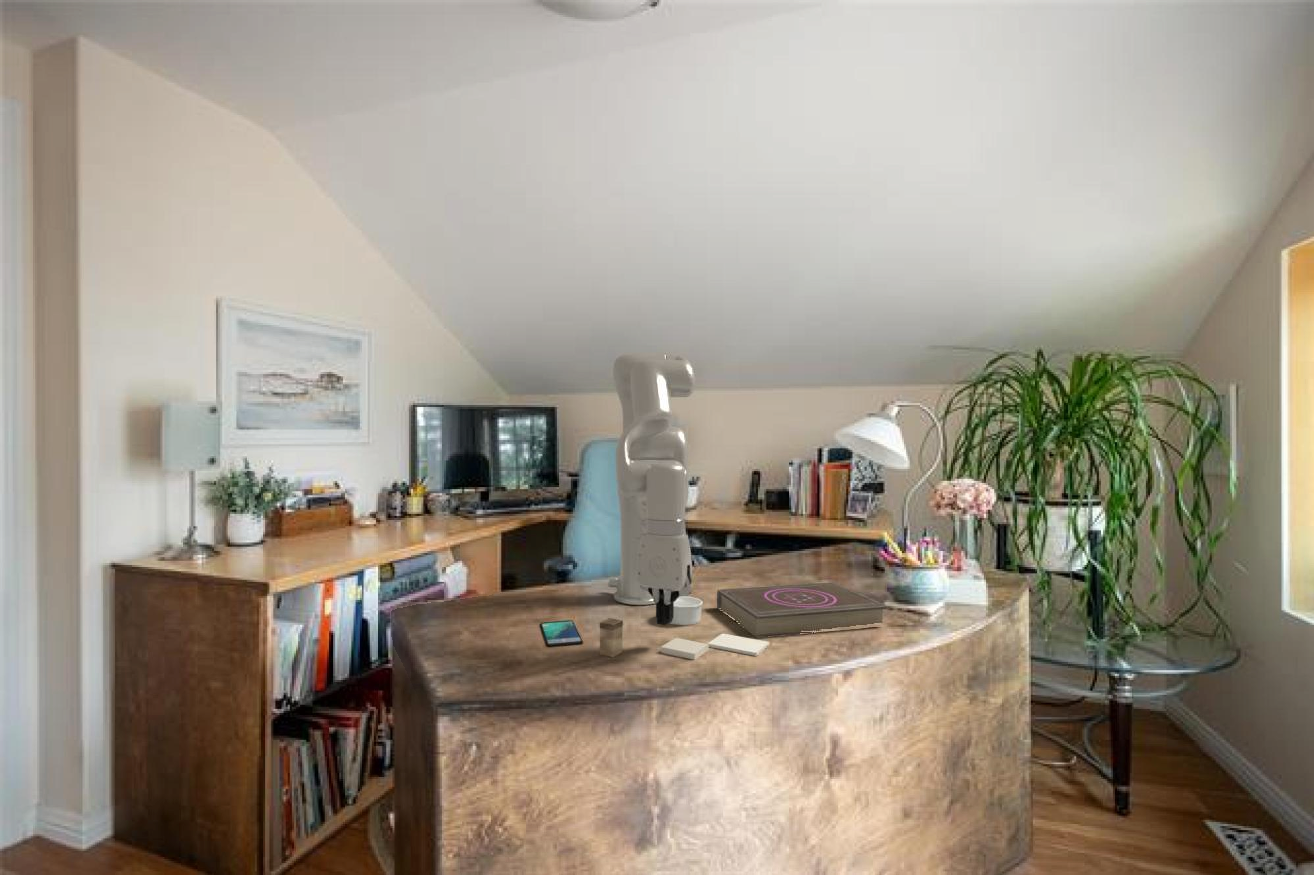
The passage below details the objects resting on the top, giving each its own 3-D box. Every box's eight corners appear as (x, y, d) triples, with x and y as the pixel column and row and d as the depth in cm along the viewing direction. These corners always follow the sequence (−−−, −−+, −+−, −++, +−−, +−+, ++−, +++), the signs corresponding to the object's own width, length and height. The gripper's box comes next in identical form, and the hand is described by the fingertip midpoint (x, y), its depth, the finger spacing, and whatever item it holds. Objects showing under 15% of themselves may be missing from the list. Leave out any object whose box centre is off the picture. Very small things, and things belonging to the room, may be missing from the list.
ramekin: (660, 615, 143) (660, 596, 143) (699, 614, 144) (699, 595, 144) (664, 627, 134) (664, 607, 134) (705, 626, 135) (705, 606, 135)
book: (756, 640, 127) (757, 615, 127) (716, 610, 149) (716, 588, 149) (887, 629, 136) (888, 605, 136) (831, 601, 157) (831, 581, 157)
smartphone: (547, 645, 121) (539, 622, 136) (546, 649, 121) (539, 625, 136) (584, 642, 123) (572, 619, 137) (584, 646, 123) (572, 623, 137)
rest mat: (707, 646, 122) (707, 643, 122) (722, 636, 128) (722, 633, 128) (756, 656, 117) (756, 652, 117) (769, 645, 123) (769, 641, 123)
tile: (661, 646, 119) (694, 653, 115) (676, 637, 124) (708, 644, 121) (661, 656, 119) (694, 663, 115) (675, 646, 124) (708, 653, 121)
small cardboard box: (599, 654, 118) (599, 622, 118) (608, 649, 120) (609, 617, 120) (613, 657, 116) (613, 624, 116) (622, 652, 119) (622, 620, 119)
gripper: (622, 526, 122) (621, 621, 122) (691, 533, 114) (690, 635, 115) (642, 522, 128) (641, 612, 129) (709, 528, 121) (708, 624, 121)
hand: (664, 622), depth 122 cm, fingers closed
